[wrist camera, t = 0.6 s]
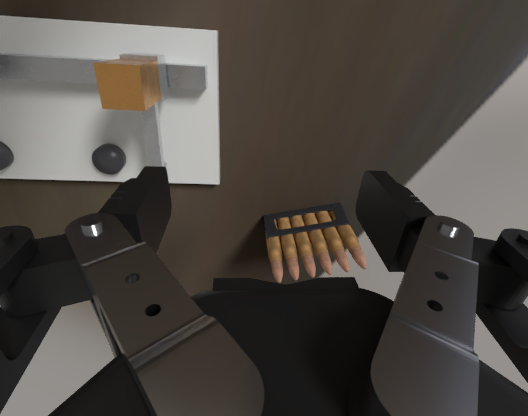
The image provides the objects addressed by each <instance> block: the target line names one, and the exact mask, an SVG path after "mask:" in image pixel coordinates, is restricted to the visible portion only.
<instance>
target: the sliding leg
mask: <svg viewBox="0 0 528 416" xmlns="http://www.w3.org/2000/svg"><path fill="white" fill-rule="evenodd" d="M119 56H120V58H118V59H112V60H106V61H100V62H94V63H93V65H94V70H95V75H96V80H97V85H98V90H99V95H100V100H101V105H102V109H116V110H137V111H142V114H143V121H144V128H145V136H146V143H147V150H148V157H149V165H150V166H164V167H167V163H166V162H165V161H164V156H163V147H162V139H161V130H160V121H159V112H158V103H157V102H163V101H164V100H166V99H167V98H168V97H169V92H168V82H167V71H166V60H165V55H160V54H143V53H124V54H119Z"/></svg>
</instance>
